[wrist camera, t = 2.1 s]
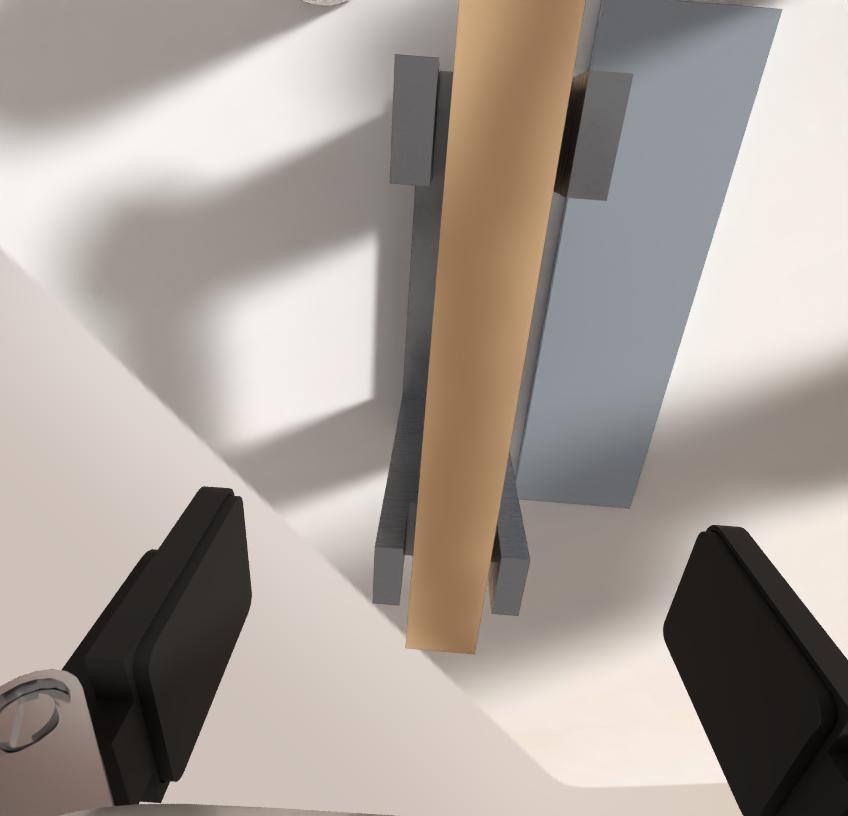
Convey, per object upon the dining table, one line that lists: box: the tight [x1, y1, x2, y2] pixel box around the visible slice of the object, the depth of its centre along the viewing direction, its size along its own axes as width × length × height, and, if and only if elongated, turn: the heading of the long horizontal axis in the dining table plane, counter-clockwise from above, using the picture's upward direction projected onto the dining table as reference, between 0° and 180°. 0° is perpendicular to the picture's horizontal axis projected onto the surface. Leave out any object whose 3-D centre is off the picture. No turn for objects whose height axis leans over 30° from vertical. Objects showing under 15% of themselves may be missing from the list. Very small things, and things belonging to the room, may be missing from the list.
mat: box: [515, 0, 782, 509], centre depth 31 cm, size 8×28×1 cm, turn 176°
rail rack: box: [373, 54, 634, 616], centre depth 24 cm, size 6×20×15 cm, turn 176°
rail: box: [406, 0, 586, 654], centre depth 19 cm, size 3×24×3 cm, turn 176°
